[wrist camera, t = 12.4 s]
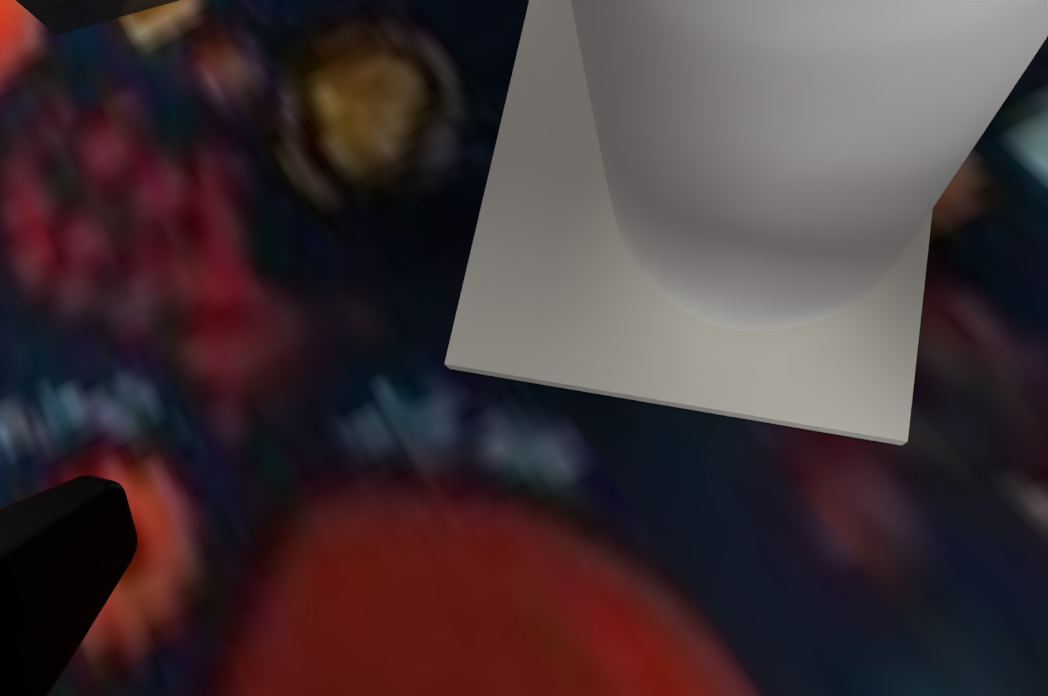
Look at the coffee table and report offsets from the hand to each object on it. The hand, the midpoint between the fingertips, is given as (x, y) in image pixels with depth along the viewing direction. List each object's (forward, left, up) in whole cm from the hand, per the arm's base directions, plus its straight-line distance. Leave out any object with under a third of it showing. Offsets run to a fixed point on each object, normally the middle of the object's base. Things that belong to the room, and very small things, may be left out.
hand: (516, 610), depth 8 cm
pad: (+9, 0, -10) cm, 14 cm away
